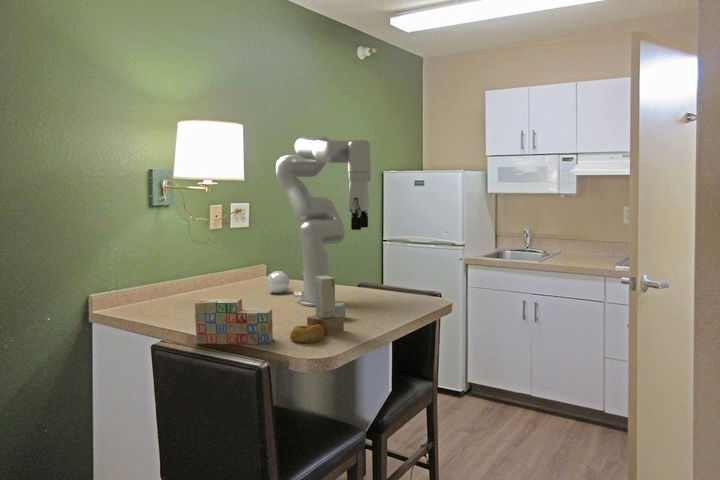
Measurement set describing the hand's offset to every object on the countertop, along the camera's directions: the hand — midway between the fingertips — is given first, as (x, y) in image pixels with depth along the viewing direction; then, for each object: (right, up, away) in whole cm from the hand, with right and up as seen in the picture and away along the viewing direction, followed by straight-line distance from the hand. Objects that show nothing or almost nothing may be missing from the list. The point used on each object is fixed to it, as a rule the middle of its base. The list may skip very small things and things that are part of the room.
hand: (359, 228), depth 198 cm
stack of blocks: (-37, -34, -26) cm, 56 cm away
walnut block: (-11, -33, -16) cm, 38 cm away
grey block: (-8, -31, +1) cm, 32 cm away
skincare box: (-11, -28, -16) cm, 34 cm away
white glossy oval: (-35, -26, +49) cm, 66 cm away
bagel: (-16, -34, -24) cm, 44 cm away
